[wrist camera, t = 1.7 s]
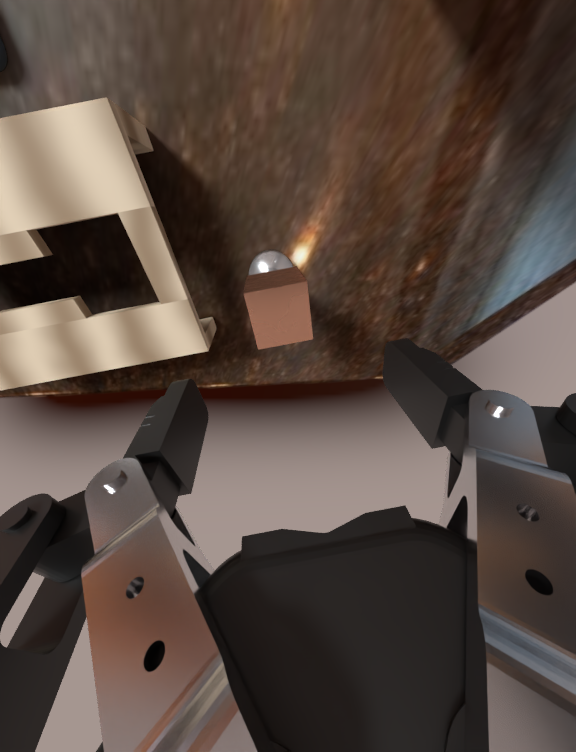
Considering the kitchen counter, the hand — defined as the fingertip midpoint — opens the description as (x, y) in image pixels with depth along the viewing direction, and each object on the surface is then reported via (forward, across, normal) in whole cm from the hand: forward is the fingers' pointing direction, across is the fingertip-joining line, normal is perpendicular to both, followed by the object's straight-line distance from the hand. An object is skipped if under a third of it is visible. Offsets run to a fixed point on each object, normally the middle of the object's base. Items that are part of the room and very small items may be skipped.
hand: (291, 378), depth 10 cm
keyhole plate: (+21, +20, -4) cm, 29 cm away
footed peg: (+21, 0, 0) cm, 21 cm away
